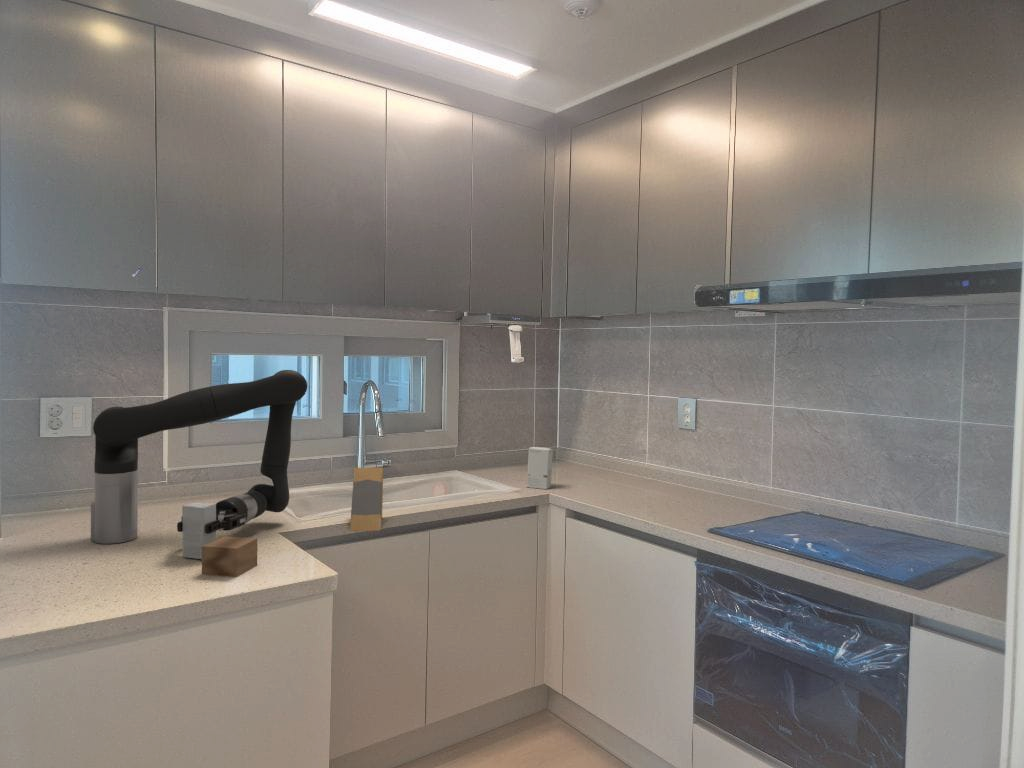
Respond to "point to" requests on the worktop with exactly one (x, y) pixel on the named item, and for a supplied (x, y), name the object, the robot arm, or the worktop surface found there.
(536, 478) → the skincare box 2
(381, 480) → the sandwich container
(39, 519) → the worktop surface
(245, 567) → the walnut block
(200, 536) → the skincare box
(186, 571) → the worktop surface
